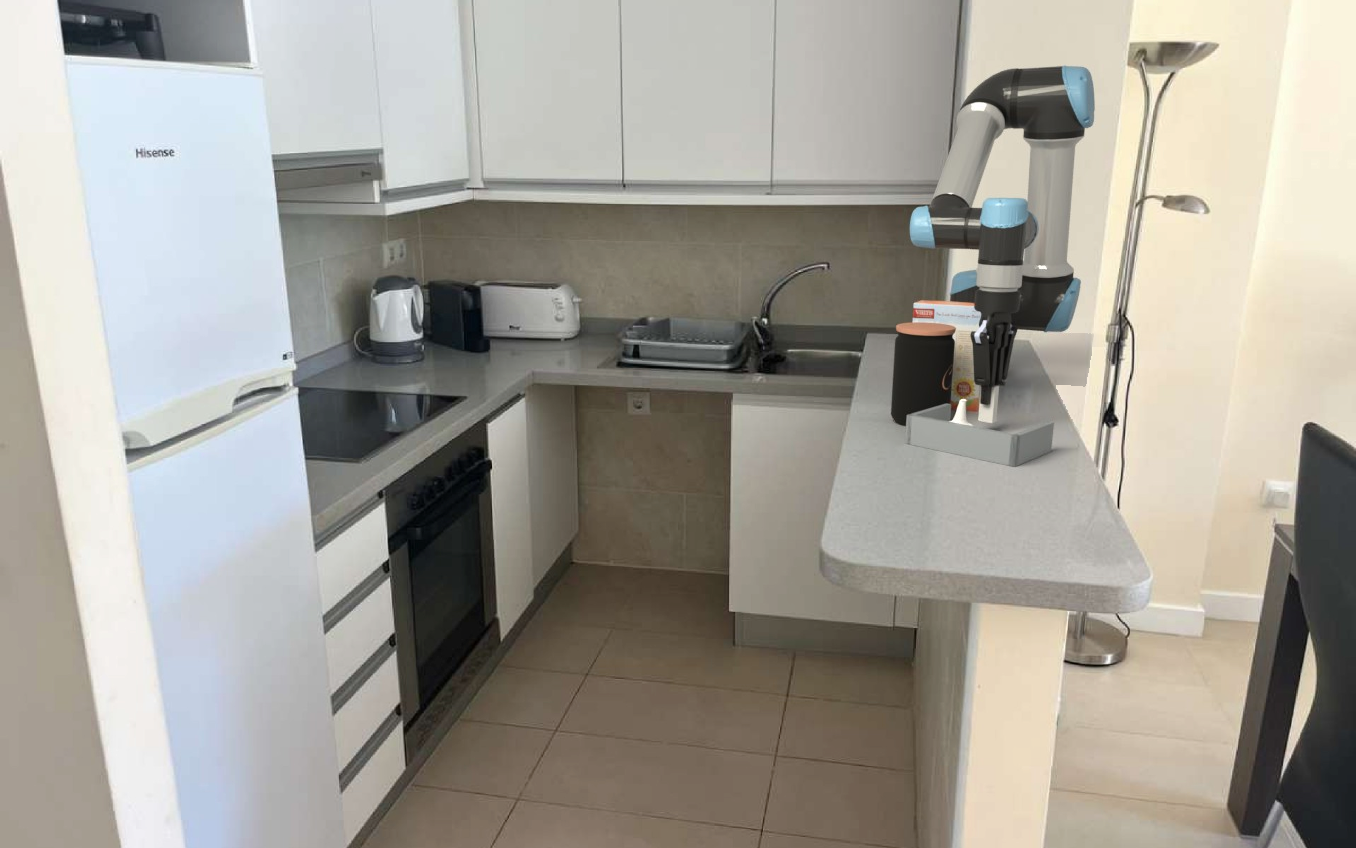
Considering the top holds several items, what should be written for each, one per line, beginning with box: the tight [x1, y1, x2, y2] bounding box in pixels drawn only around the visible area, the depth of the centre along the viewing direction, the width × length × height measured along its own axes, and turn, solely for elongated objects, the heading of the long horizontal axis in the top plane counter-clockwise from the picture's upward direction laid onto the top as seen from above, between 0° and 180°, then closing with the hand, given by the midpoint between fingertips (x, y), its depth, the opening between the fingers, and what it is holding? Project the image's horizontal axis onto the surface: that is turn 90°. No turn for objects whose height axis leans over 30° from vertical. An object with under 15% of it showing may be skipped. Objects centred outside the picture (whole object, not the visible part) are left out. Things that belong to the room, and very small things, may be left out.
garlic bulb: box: [949, 399, 974, 426], centre depth 171 cm, size 6×6×8 cm
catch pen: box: [904, 403, 1055, 468], centre depth 169 cm, size 13×20×5 cm, turn 45°
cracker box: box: [911, 299, 981, 413], centre depth 196 cm, size 14×6×21 cm, turn 61°
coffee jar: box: [890, 321, 956, 427], centre depth 185 cm, size 11×11×18 cm
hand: (987, 421), depth 179 cm, fingers closed
